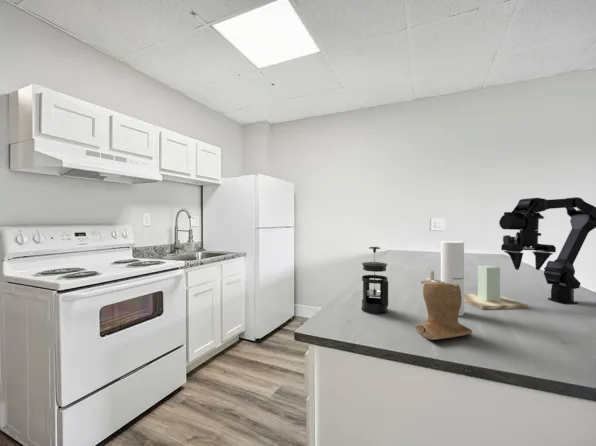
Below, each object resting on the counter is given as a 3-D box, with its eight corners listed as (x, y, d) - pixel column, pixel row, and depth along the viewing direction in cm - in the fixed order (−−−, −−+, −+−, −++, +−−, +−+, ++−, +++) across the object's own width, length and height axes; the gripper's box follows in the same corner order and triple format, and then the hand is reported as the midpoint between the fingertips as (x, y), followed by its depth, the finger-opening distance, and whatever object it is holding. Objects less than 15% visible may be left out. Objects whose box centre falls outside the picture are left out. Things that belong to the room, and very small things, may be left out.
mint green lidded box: (490, 297, 114) (490, 265, 114) (499, 301, 109) (499, 267, 109) (477, 297, 114) (477, 265, 114) (486, 301, 109) (486, 267, 109)
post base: (493, 296, 120) (493, 285, 120) (527, 307, 104) (527, 295, 104) (453, 297, 119) (454, 286, 119) (482, 309, 103) (482, 296, 103)
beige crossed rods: (439, 290, 131) (439, 268, 131) (448, 296, 121) (448, 272, 121) (416, 289, 132) (416, 268, 132) (424, 295, 122) (424, 272, 122)
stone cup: (444, 323, 89) (444, 276, 89) (479, 338, 78) (479, 284, 78) (404, 329, 85) (404, 279, 84) (435, 346, 73) (435, 288, 73)
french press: (355, 307, 106) (355, 246, 106) (375, 304, 109) (375, 245, 109) (375, 317, 95) (375, 249, 95) (397, 313, 99) (397, 248, 98)
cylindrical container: (467, 316, 95) (467, 242, 95) (444, 315, 97) (444, 242, 97) (459, 309, 102) (459, 241, 102) (438, 308, 104) (438, 240, 104)
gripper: (530, 229, 120) (529, 266, 120) (490, 228, 118) (489, 266, 118) (557, 231, 109) (556, 271, 109) (514, 229, 107) (513, 271, 107)
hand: (527, 269), depth 111 cm, fingers open, 9 cm apart
